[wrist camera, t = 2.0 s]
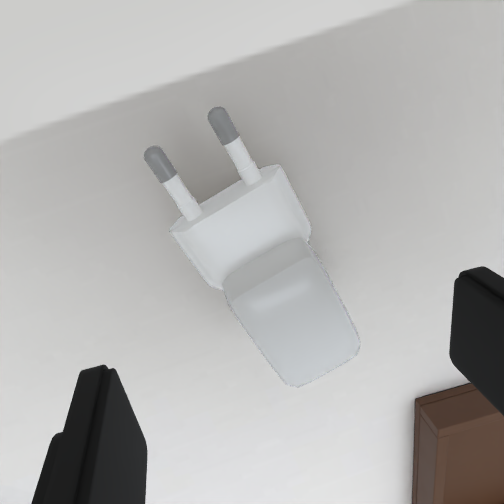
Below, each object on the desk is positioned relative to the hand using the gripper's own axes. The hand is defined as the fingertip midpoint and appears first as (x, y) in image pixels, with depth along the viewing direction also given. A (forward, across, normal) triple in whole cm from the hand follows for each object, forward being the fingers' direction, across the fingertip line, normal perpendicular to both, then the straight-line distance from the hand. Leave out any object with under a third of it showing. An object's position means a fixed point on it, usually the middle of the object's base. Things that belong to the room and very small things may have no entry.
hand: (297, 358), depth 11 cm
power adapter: (+10, 0, 0) cm, 10 cm away
